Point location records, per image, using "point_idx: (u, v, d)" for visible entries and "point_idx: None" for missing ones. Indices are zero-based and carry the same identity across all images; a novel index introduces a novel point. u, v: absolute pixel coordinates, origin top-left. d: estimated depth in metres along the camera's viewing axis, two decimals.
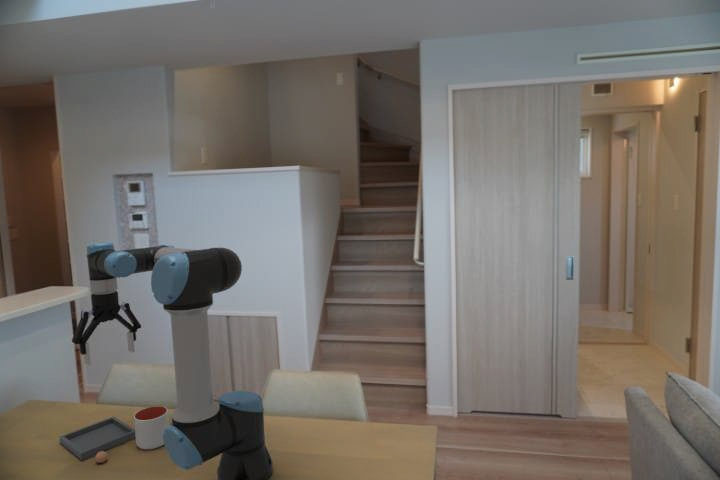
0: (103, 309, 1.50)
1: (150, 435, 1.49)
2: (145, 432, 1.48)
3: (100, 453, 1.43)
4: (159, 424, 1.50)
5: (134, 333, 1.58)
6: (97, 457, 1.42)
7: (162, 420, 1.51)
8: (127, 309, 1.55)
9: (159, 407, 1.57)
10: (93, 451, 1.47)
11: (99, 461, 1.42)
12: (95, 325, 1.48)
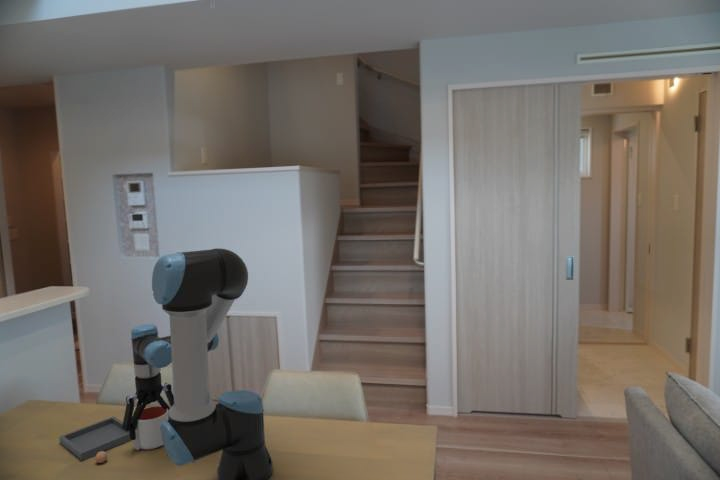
0: (146, 391, 1.50)
1: (150, 435, 1.49)
2: (145, 432, 1.48)
3: (100, 453, 1.43)
4: (159, 424, 1.50)
5: None
6: (97, 457, 1.42)
7: (162, 420, 1.51)
8: (169, 390, 1.56)
9: (159, 407, 1.57)
10: (93, 451, 1.47)
11: (99, 461, 1.42)
12: (141, 409, 1.49)
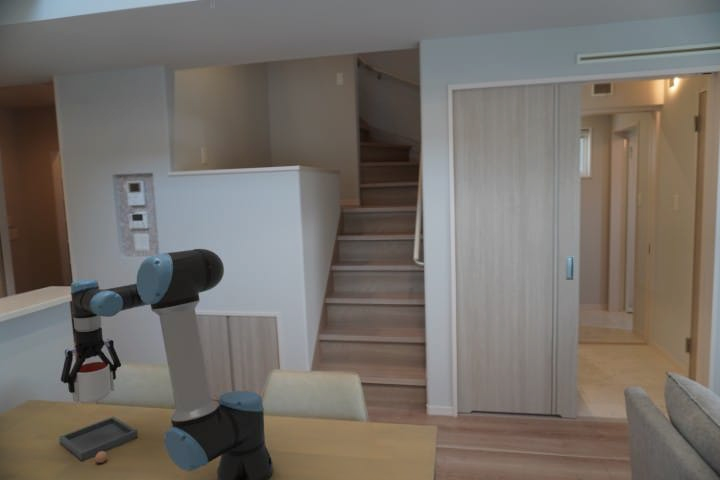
0: (86, 345, 1.51)
1: (89, 388, 1.50)
2: (84, 385, 1.49)
3: (100, 453, 1.43)
4: (99, 378, 1.51)
5: (113, 372, 1.59)
6: (97, 457, 1.42)
7: (102, 374, 1.52)
8: (110, 346, 1.57)
9: (101, 362, 1.58)
10: (93, 451, 1.47)
11: (99, 461, 1.42)
12: (81, 363, 1.50)
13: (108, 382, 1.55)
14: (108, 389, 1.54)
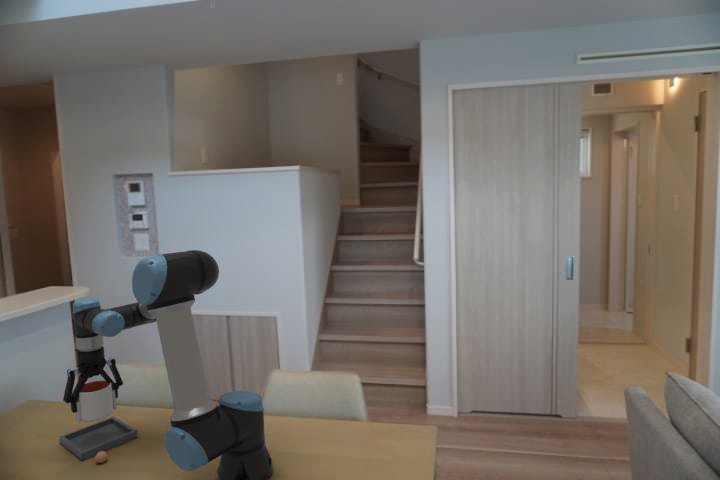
0: (88, 364, 1.52)
1: (91, 407, 1.50)
2: (86, 405, 1.50)
3: (100, 453, 1.43)
4: (101, 397, 1.52)
5: (116, 391, 1.59)
6: (97, 457, 1.42)
7: (104, 393, 1.52)
8: (112, 365, 1.57)
9: (103, 381, 1.59)
10: (93, 451, 1.47)
11: (99, 461, 1.42)
12: (83, 382, 1.51)
13: (110, 401, 1.55)
14: (110, 408, 1.55)
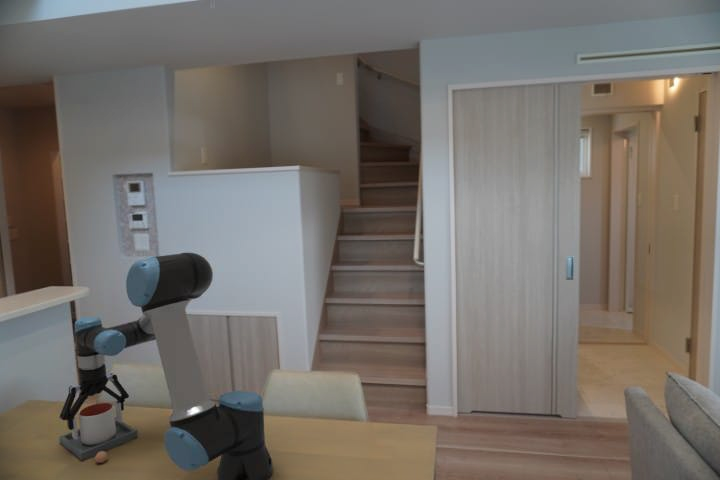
0: (91, 383, 1.52)
1: (94, 431, 1.51)
2: (89, 428, 1.51)
3: (100, 453, 1.43)
4: (103, 421, 1.52)
5: (121, 403, 1.61)
6: (97, 457, 1.42)
7: (106, 416, 1.53)
8: (115, 380, 1.58)
9: (106, 403, 1.60)
10: (93, 451, 1.47)
11: (99, 461, 1.42)
12: (83, 400, 1.51)
13: (113, 424, 1.56)
14: (113, 430, 1.56)
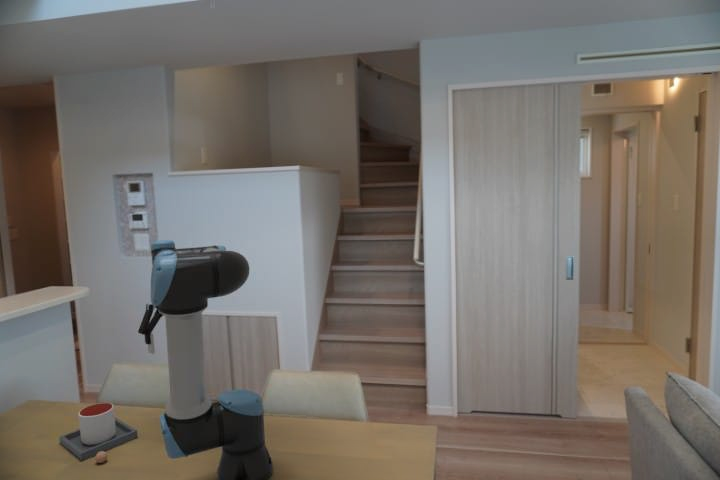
0: None
1: (94, 431, 1.51)
2: (89, 428, 1.51)
3: (100, 453, 1.43)
4: (104, 420, 1.52)
5: None
6: (97, 457, 1.42)
7: (107, 416, 1.53)
8: None
9: (106, 404, 1.60)
10: (93, 451, 1.47)
11: (99, 461, 1.42)
12: (158, 317, 1.60)
13: (113, 424, 1.56)
14: (113, 430, 1.56)
